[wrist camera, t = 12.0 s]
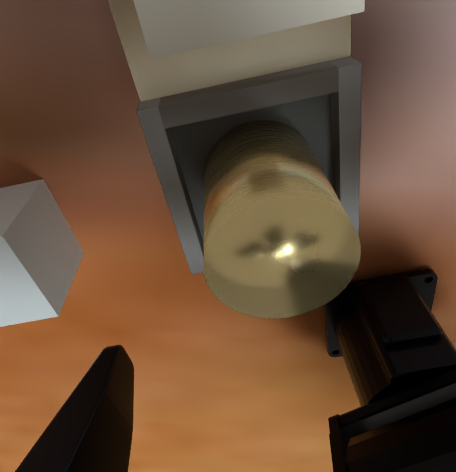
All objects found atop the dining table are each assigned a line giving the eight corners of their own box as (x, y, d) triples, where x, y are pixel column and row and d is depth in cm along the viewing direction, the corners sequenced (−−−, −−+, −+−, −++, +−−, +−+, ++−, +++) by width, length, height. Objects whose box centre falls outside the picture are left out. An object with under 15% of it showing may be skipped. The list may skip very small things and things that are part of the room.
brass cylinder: (317, 209, 18) (359, 305, 13) (216, 228, 18) (220, 328, 13) (311, 109, 15) (363, 183, 10) (192, 133, 15) (185, 216, 10)
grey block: (84, 251, 20) (58, 316, 16) (5, 267, 20) (-37, 333, 17) (44, 178, 17) (2, 236, 14) (-47, 197, 18) (-110, 258, 14)
